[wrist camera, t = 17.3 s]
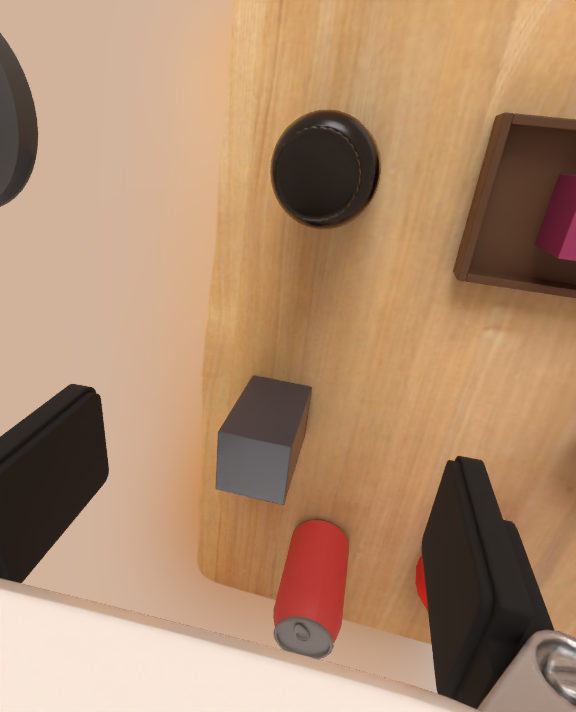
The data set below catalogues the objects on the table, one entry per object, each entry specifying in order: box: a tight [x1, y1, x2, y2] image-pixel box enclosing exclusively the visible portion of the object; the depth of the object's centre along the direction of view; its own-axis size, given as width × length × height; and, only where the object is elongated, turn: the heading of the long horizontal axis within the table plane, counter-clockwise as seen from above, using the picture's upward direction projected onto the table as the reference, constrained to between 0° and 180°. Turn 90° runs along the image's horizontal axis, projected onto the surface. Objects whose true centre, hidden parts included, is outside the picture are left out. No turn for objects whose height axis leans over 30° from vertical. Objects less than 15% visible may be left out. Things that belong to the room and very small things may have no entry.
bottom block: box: [216, 376, 312, 505], centre depth 40 cm, size 6×6×10 cm
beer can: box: [274, 520, 349, 659], centre depth 45 cm, size 7×7×12 cm
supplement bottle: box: [270, 110, 381, 229], centre depth 29 cm, size 7×7×12 cm
